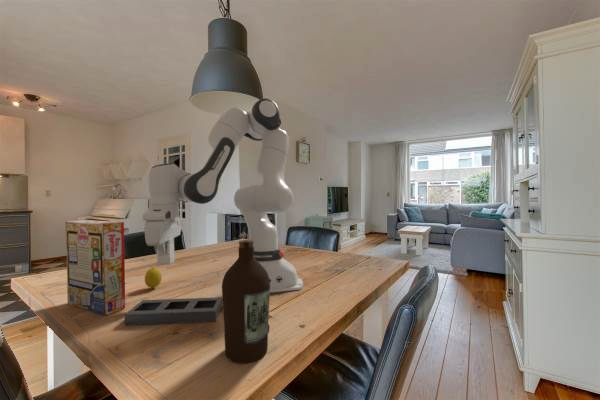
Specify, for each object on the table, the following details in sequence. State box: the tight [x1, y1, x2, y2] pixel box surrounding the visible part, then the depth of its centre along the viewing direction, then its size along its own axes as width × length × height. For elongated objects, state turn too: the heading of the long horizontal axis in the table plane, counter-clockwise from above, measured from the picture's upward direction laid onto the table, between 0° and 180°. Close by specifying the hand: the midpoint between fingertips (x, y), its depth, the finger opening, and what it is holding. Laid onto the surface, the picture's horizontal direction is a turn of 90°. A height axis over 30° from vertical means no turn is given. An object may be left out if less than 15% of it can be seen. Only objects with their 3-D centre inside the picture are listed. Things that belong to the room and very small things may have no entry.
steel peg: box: [156, 238, 176, 266], centre depth 90 cm, size 4×4×8 cm
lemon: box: [144, 267, 162, 289], centre depth 101 cm, size 6×6×8 cm
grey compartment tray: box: [124, 296, 223, 327], centre depth 79 cm, size 24×10×3 cm, turn 95°
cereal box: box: [65, 219, 126, 316], centre depth 85 cm, size 20×6×27 cm, turn 66°
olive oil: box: [221, 239, 271, 364], centre depth 61 cm, size 11×11×25 cm
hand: (166, 253), depth 90 cm, fingers closed on steel peg, 4 cm apart
